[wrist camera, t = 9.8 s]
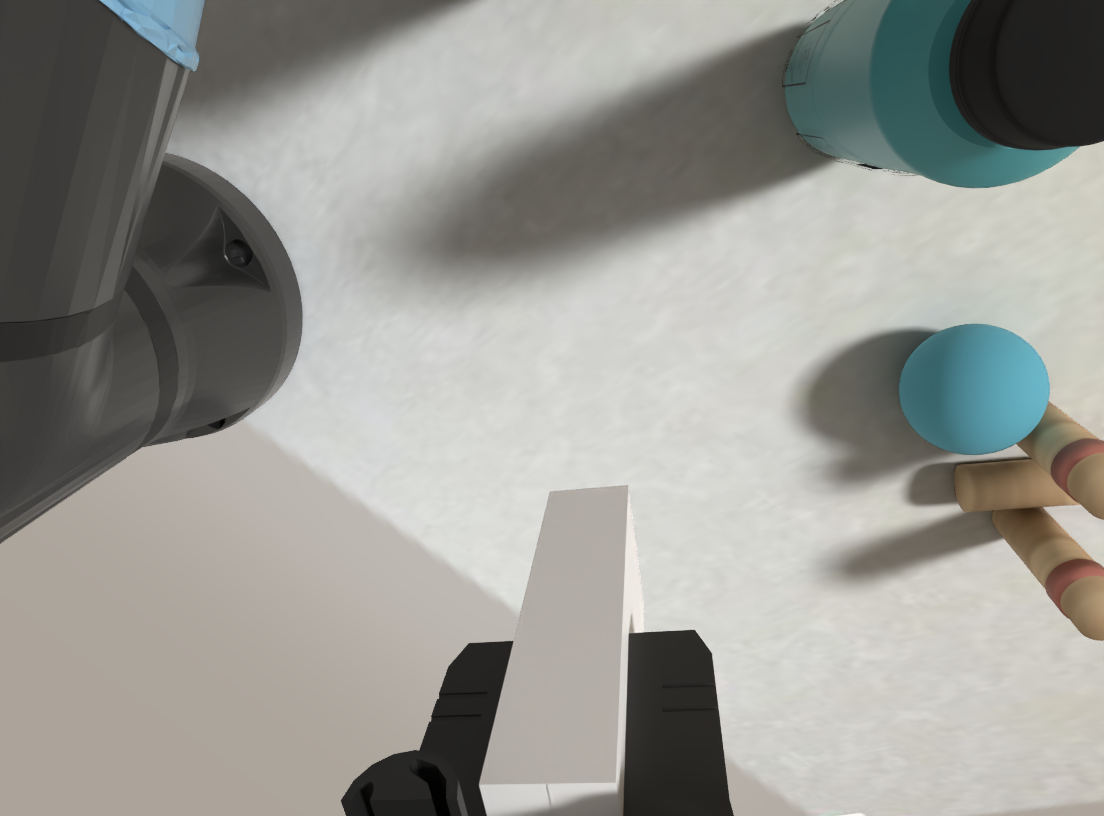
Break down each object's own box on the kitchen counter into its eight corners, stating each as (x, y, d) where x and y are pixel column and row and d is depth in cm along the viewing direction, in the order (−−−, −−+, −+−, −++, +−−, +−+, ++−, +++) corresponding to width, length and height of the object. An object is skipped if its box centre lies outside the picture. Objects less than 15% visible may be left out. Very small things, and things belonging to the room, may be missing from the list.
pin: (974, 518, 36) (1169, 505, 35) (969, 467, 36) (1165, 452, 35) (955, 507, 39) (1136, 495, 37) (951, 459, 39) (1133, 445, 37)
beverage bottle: (824, 188, 34) (1025, 286, 16) (742, 67, 33) (858, 19, 14) (958, 91, 32) (1370, 74, 14) (877, -43, 31) (1215, -266, 12)
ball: (936, 444, 38) (918, 488, 33) (891, 338, 38) (866, 367, 33) (1071, 410, 34) (1071, 454, 30) (1022, 292, 34) (1014, 318, 29)
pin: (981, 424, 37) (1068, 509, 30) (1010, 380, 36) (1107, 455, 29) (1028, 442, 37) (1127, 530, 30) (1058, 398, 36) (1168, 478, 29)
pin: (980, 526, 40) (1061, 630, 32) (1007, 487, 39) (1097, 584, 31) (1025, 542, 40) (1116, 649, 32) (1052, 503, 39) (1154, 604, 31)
